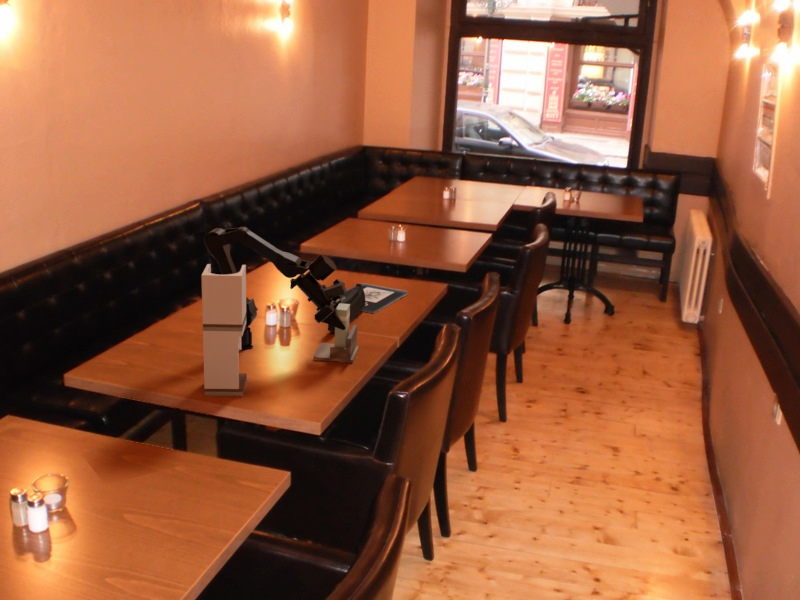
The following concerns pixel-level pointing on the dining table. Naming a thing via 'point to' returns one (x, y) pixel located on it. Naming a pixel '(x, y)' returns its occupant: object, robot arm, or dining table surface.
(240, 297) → the beige rectangular tower
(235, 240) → the robot arm
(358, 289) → the magazine
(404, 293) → the sketchbook
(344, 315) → the book
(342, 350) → the book rack
